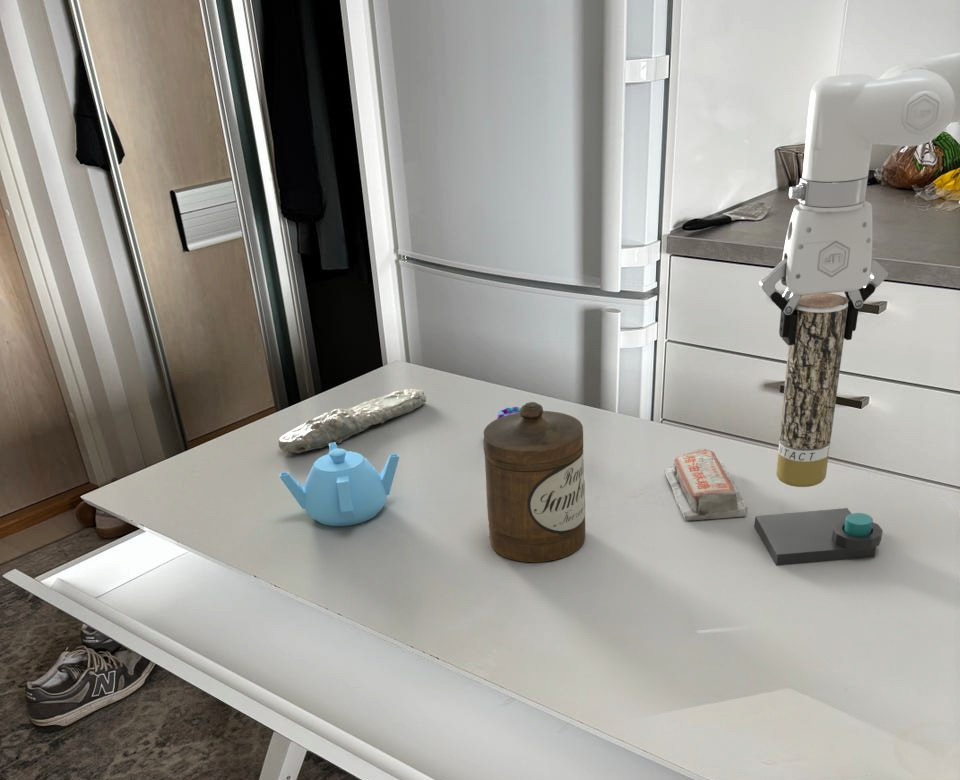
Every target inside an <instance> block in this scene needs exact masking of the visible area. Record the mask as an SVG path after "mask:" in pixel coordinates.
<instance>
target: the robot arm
mask: <svg viewBox="0 0 960 780" xmlns="http://www.w3.org/2000/svg"><path fill="white" fill-rule="evenodd" d="M808 101H809V103H808V110H807V111H808V113H807V122H806V132H805V133H806V134H805V141H804V142H805V144H804V154H803V155H804V156H803V164H802V175H801V178H799V183H798V184H796V185H795V186H793V185H792V186H790V187H789V190H788V197H789V199H795V200H797V201H798V202H799V204H795V205H794V207H793V210H792V213H791V216H790V220H789V224H788V227H787V232H786V236H785V241H784V247H783V252H782V260H781V261H780V262H779V263H778V264H777V265H776V266H775V267H774V268H772V269H771V270H770V271H769V272H768V273H767V274H766V275H765V276H764V277H762V279H761V280H759V283H758V286H759V287H760V289H761V290H762V291H763V292H764V294H765V295H766V296H767V297H768V298H769V300H770V301H772V302H773V303H774V305H776V307H778V308H779V310H780V319H779V330H778V333H779V337H780V338H781V339H782V341H783V342H784V343H785V344H786V345H787V346H789V345H793V344H794V341H795V331H796V322H797V315H796V314H795V313H794V309H795V307H796V305H797V304H798V302H799V300H800V298H801V297H802V295H813V294H824V293H828V294H836V293H843V294H844V297H846V298H847V299H848V311H847V318H846V326H845V334H844V340H846V341H851V340H852V338H853V332H855V331H856V330H857V324H858V317H859V316H858V315H859V309H861V308H862V307H863V306H864V302H865V301H867V300H868V298H870V297H871V296H872V295H873V294H874V293H875V291H876V289H877V288H878V287H879V286H880V285H881V284H882V283H883V282H884V281H885V280H886V279H887V278H888V276H889V273H888V271H887V270H886V269H885V268H884V267H883V266H881V265H880V264H879V263H878V262H877V260H875V259H874V258H873V257H872V256H873V237H874V236H873V233H874V232H873V231H874V230H873V227H874V226H873V224H874V223H873V221H874V220H873V207H872V206H873V205H872V203H870V202H869V201H866V195H867V186H868V179H869V172H870V164H871V157H872V156H871V155H872V151H873V150H872V149H873V145H886V146H895V147H917V146H921V145H924V144H927V143H929V142H932V141H933V140H935V139H936V138H937V137H939V136H940V135H941V134H942V133H943V132H944V131H945V129H946V128H947V127H948V126H949V124H951V123H958V122H960V51H959V52H953V53H948V54H943V55H938V56H932V57H927V58H923V59H917V60H913V61H908V62H904V63H901V64H897V65H895V66H893V67H891V68H889V69H888V70H887V71H886V72H884V73H883V74H882V75H881V76H880V77H879V78H875V77H874V76H871V75H869V74H856V73H853V74H851V73H850V74H837V75H831V76H826V77H822V78H821V79H818V80H817V81H816V82H815V83H814V84H813V86H812V87H811V90H810V94H809V100H808ZM779 281H780V282H781V284H782V286H784V287H786V289H785V291H784V293H783V294H781V293H780V292H779V290H778V289H777V288H776V284H777V283H779Z"/></svg>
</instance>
